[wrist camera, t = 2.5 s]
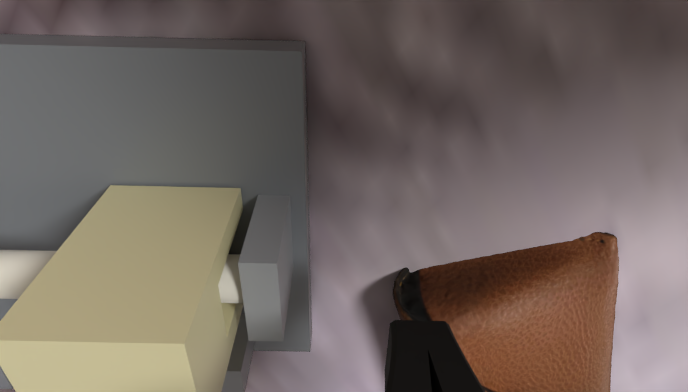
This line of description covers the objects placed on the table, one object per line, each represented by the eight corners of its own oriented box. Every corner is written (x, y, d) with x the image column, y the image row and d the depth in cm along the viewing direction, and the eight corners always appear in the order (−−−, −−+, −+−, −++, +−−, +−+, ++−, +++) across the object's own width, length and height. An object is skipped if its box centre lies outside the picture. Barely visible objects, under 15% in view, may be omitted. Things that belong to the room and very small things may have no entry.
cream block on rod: (240, 188, 14) (184, 343, 9) (250, 274, 16) (208, 441, 11) (110, 185, 14) (-16, 340, 9) (136, 272, 16) (44, 438, 11)
